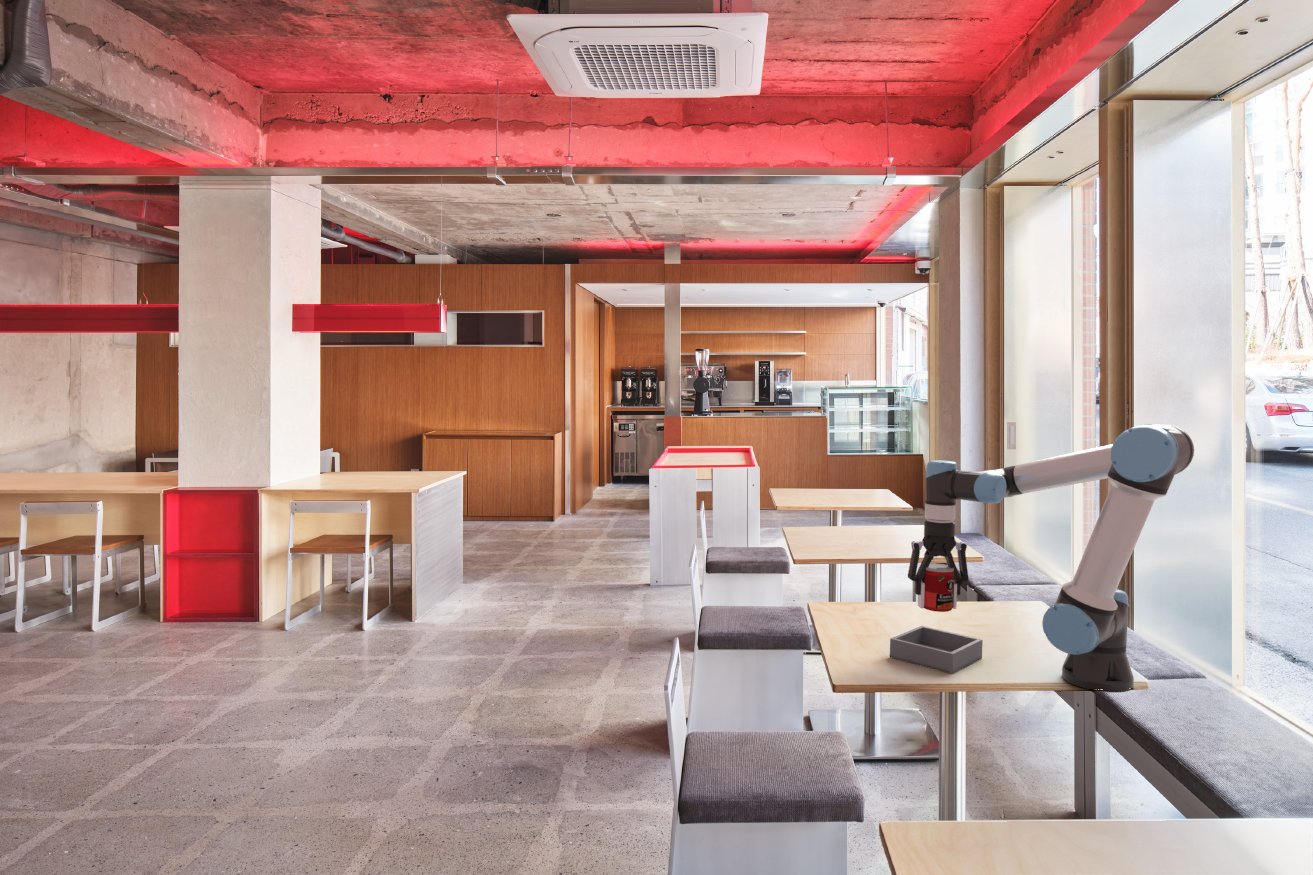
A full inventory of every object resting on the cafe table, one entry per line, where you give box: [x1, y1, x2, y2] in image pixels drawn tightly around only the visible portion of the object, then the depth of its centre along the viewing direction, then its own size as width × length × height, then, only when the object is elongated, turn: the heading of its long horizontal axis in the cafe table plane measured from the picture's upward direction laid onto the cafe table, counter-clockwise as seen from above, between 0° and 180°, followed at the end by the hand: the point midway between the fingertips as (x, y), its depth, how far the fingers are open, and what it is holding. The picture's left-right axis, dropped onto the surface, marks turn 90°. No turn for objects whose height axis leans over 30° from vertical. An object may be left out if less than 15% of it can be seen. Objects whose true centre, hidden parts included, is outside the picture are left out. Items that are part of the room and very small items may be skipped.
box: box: [889, 625, 983, 675], centre depth 210 cm, size 17×17×5 cm
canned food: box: [922, 562, 954, 613], centre depth 209 cm, size 8×8×11 cm
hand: (936, 607), depth 209 cm, fingers closed on canned food, 8 cm apart
